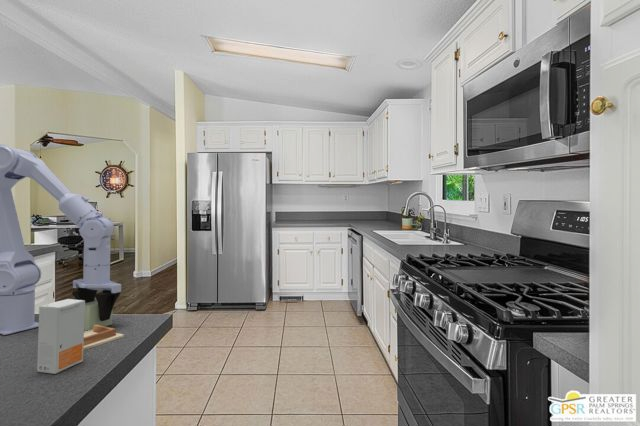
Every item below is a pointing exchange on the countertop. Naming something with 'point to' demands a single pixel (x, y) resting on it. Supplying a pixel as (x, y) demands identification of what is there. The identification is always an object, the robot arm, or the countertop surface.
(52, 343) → the skincare box
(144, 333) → the countertop surface
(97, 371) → the countertop surface
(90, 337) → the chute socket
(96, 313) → the chute block
